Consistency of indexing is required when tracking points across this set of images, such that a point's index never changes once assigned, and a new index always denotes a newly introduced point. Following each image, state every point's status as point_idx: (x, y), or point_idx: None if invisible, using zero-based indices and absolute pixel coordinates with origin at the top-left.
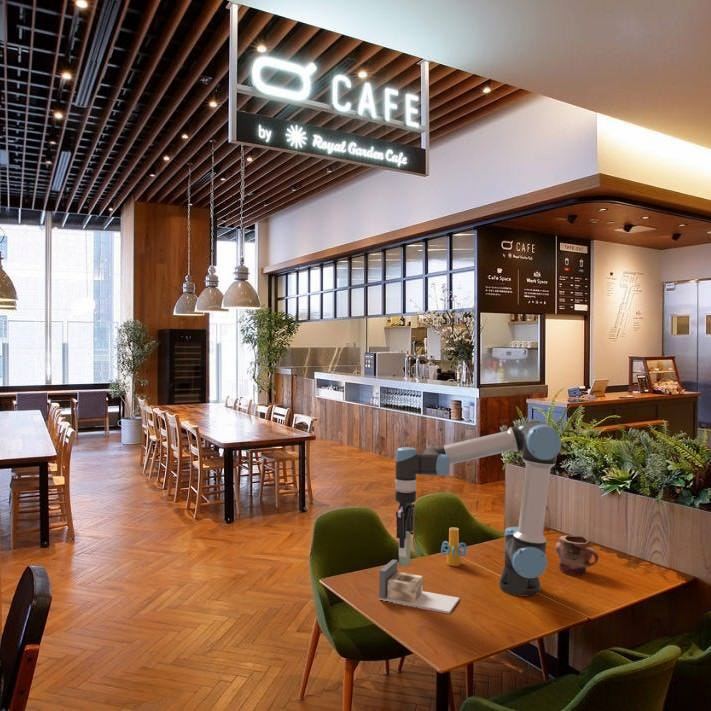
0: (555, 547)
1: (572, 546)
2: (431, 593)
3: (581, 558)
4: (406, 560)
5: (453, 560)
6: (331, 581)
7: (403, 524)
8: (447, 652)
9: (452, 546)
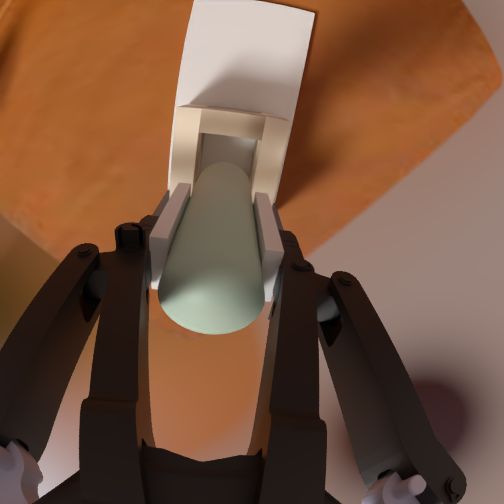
0: None
1: None
2: (185, 76)
3: None
4: (247, 183)
5: None
6: (194, 332)
7: (394, 377)
8: (477, 57)
9: None
